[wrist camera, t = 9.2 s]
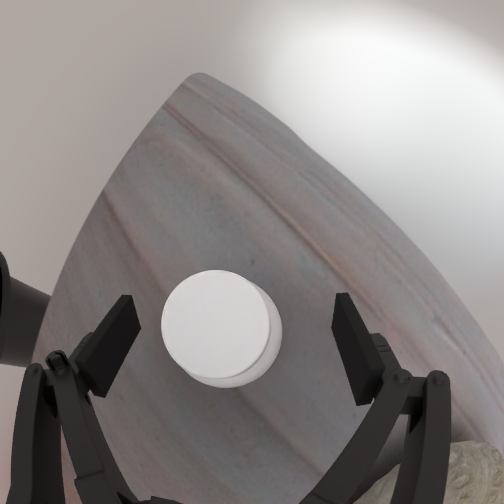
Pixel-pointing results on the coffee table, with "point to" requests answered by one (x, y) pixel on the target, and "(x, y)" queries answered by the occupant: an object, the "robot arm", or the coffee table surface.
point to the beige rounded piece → (456, 477)
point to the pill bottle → (221, 328)
